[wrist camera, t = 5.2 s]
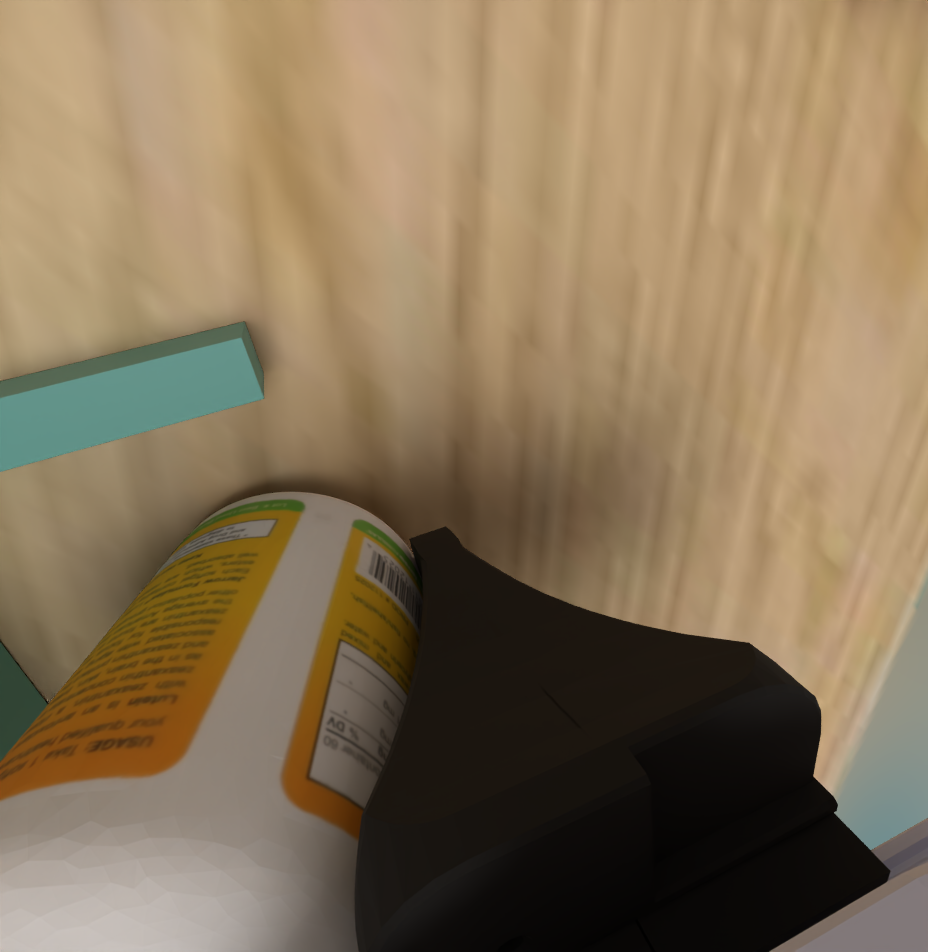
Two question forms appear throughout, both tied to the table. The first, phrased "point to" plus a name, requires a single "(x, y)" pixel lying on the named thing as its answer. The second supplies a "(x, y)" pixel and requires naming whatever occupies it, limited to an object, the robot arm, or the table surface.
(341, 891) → the supplement bottle
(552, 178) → the table surface
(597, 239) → the table surface
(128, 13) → the table surface
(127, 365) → the dock
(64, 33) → the table surface
